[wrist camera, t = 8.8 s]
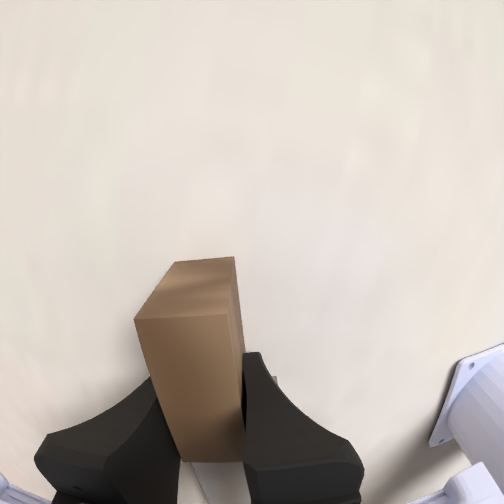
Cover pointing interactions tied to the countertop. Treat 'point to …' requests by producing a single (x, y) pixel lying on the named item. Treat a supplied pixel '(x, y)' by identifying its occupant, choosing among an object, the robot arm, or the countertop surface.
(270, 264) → the countertop surface
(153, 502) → the robot arm
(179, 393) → the putty knife
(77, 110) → the countertop surface
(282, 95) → the countertop surface
